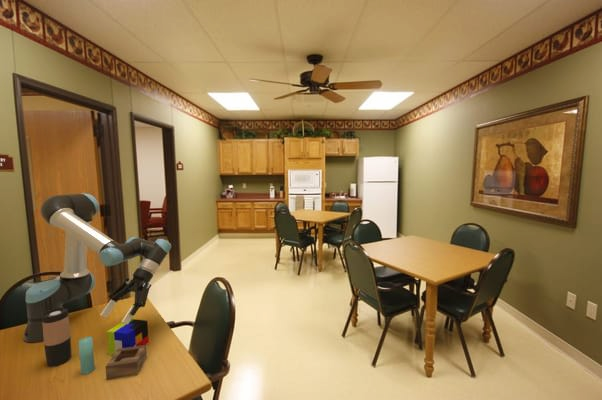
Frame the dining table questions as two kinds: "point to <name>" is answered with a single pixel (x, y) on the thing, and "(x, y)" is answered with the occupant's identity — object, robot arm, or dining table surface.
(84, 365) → the teal dowel
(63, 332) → the travel mug
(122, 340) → the puzzle toy
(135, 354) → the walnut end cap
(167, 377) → the dining table surface
